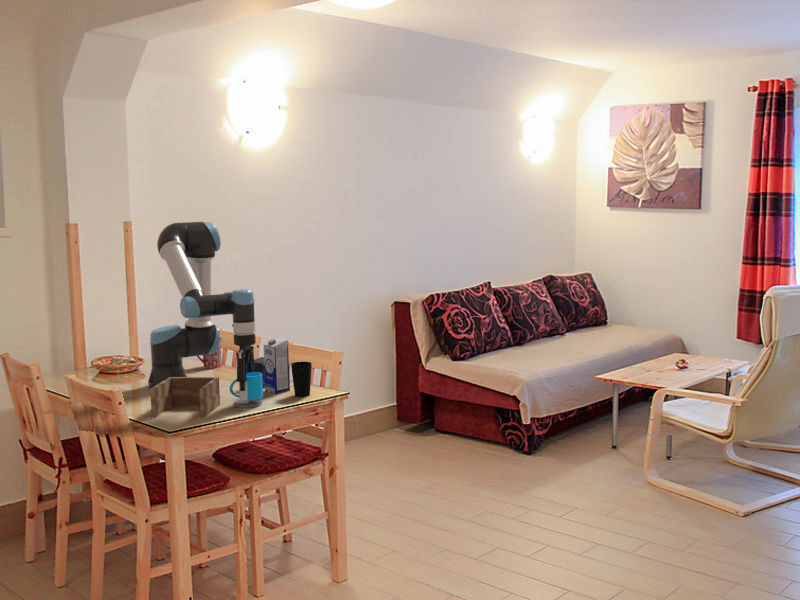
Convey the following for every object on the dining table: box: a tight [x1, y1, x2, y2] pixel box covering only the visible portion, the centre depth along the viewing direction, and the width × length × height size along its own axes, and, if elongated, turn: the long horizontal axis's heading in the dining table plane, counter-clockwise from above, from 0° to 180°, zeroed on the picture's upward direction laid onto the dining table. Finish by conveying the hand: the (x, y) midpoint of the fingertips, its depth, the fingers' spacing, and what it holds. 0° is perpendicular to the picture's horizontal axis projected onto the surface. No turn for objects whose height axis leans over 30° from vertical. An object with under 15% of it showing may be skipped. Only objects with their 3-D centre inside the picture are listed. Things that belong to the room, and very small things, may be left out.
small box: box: [254, 356, 265, 389], centre depth 315 cm, size 11×6×10 cm, turn 161°
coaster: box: [232, 399, 263, 409], centre depth 286 cm, size 10×10×1 cm
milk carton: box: [263, 337, 291, 395], centre depth 305 cm, size 7×7×20 cm
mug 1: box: [196, 335, 223, 369], centre depth 352 cm, size 13×9×14 cm
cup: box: [290, 361, 313, 398], centre depth 298 cm, size 8×8×12 cm
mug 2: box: [229, 372, 264, 400], centre depth 284 cm, size 12×8×8 cm
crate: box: [149, 376, 221, 419], centre depth 278 cm, size 18×18×10 cm
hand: (247, 396), depth 286 cm, fingers closed on mug 2, 8 cm apart
